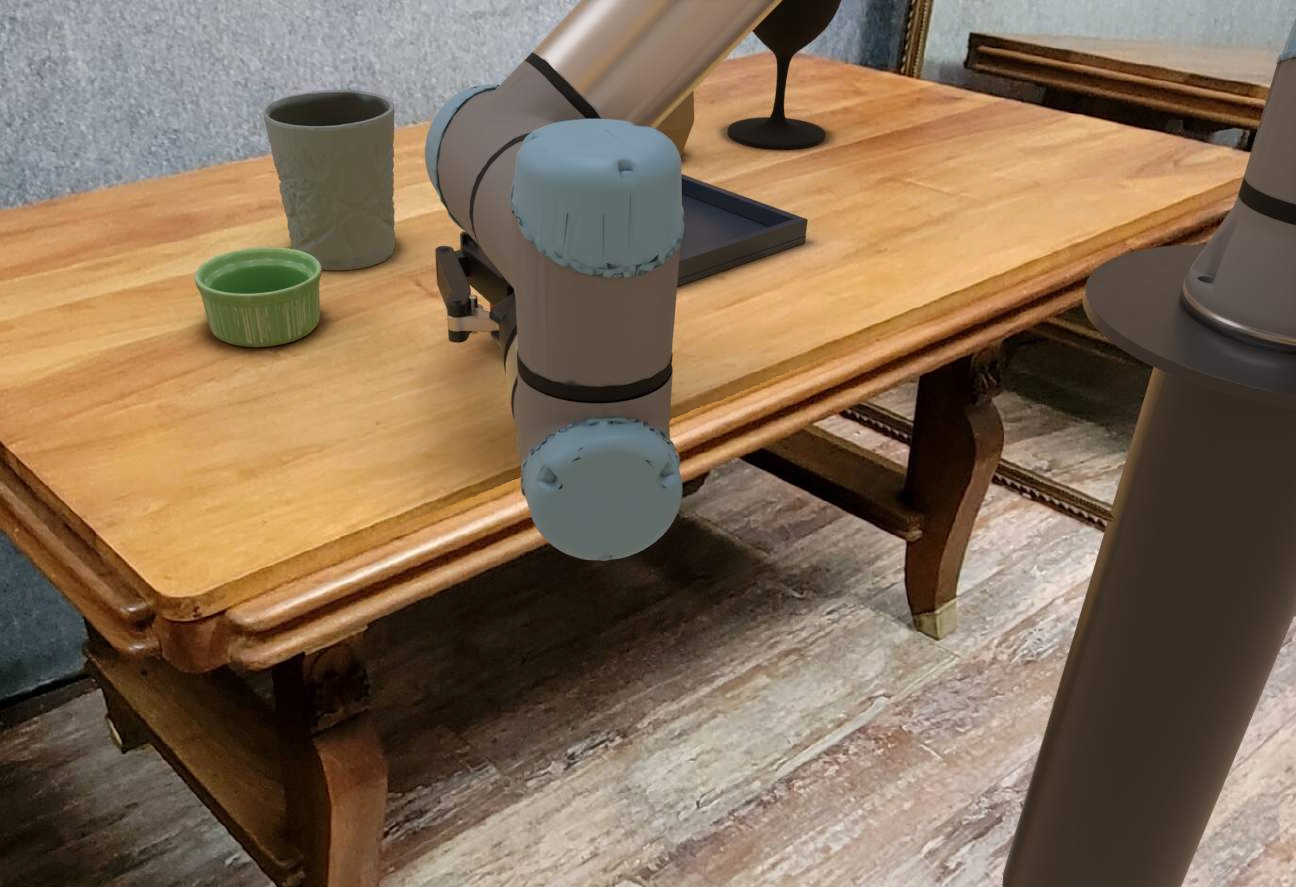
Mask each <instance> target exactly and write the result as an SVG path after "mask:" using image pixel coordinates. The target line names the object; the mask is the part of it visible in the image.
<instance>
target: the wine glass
mask: <svg viewBox="0 0 1296 887" xmlns="http://www.w3.org/2000/svg"><path fill="white" fill-rule="evenodd" d="M841 3H842V0H782V1H781V2H780V3H779V4H778V5H777V6H776V7H775V8H774V9H773V10H772V11H771V12H770V13H769V14H768V15H767V16H766V17H765V18H764V19H763V20H762V21H761V22H760V23H759V24H758V25H757V26H756V28H755V29H754V30H753V31H752V33H753V34H754V35H755V37H756V38H757V39H758V40H759V41H760V42H761V43H762V44H763V45H764V46H765V47H766V48H767V49H769V51H771V52H772V53H773V54H774V57H775V59H776V84H775V94H774V102H773V107H772V110H771V113H770V116H762V117H751V118H745V119H740V120H737V121H734V122H732V123H731V124H729V126H728V127H727V131H726V134H727V136H728V137H729V138H730V139H731V140H733V141H735V142H737V143H739V144H742V145H745V146H749V147H754V148H759V149H770V150H797V149H798V150H799V149H806V148H810V147H814V146H817V145H820V144H821V143H823V142H824V141H825V139H826V135H827V134H826V131H825V129H824V128H823V127H821V126H819V125H817V124H815V123H813V122H809V121H807V120H801V119H796V118H790V117H786V114H785V113H786V112H785V99H786V98H785V96H786V87H787V80H788V73H789V68H790V65H791V62H792V59H793V58H794V55H796V54H797V53H798V52H800V51H801V50H802V49H804V48H805V47H807V46H808V45H810V44H811V43H812V42H813V41H815V40H816V39H817V38H818V37H820V35H822V33H823V32H824V31H825V30H826V29H827V28H828V27H829V25H830V24H831V23H832V21H833V19H834V18H835V16H836V14H837V12H838V10H839V8H840V5H841Z"/></svg>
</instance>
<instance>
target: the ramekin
mask: <svg viewBox="0 0 1296 887" xmlns="http://www.w3.org/2000/svg"><path fill="white" fill-rule="evenodd" d="M321 276H322V269H321V265H320V263H319V261H318V260H317V259H316V258H314V257H313V256H311V255H309V254H307V253H305V252H302V251H298V250H294V249H292V248H287V247H274V246H263V247H261V246H260V247H249V248H243V249H237V250H233V251H230V252H229V251H228V252H225V253H222V254H219V255H216V256H214V257H212V258H210V259H207V260H206V261H205V262H203V263H202V264H201V265H200V266H198V268H197V269H196V270H195V273H194V276H193V278H194V283H195V286H196V289H197V290H198V292H199V293H200V297H201V300H202V304H203V308H204V313H205V315H206V319H207V324H208V326H209V329H210V331H211V333H212V334H213V336H214V337H216V338H217V339H219V340H220V341H222V342H224V343H227V344H230V345H234V346H238V347H245V348H246V347H247V348H265V347H266V348H267V347H274V346H281V345H284V344H289V343H292V342H295V341H297V340H300V339H302V338H304V337H306V336H307V335H309V334H310V333H311V332H312V331H314V330H315V329H316V328H317V326H318V325H319V322H320V319H321V318H320V317H321V303H320V299H321V298H320V280H321Z"/></svg>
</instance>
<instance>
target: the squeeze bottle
mask: <svg viewBox="0 0 1296 887" xmlns="http://www.w3.org/2000/svg"><path fill="white" fill-rule="evenodd" d="M694 91H695V89H694V90H693V91H692V92H691V93H690V94H689V95H688V96H687V97H686V98H685V99H684V100H683V101H682V102H681V104H680V105H679V106H678V107H677V108H676V109H675V110H674V111H673V112H672V113H671V114H670V115H669V116H668V117H667V118H666V119H665V120H664V121H663V122H662V123H661V124H660V125H659V126H658V127H657V128H656V130H658V131H660V132H661V133H663V134H664V135H666V136H667V137H668V138H669V139H670V140H671V141H672V142H673V143H674V144H675V146H676V148H677V150H678V151H679V154H680V157H682V154H683V152H684V150H685V146H686V145H687V142H688V138H689V136H690V133H691V131H692V128H693V126H694V123H695V96H694V95H695V94H694V93H695V92H694Z"/></svg>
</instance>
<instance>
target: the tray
mask: <svg viewBox="0 0 1296 887" xmlns="http://www.w3.org/2000/svg"><path fill="white" fill-rule="evenodd" d="M681 180H682V206H683V210H684V220H683V221H684V223H685V226H684V232H683V239H682V241H681V246H680V258H679V271H678V283H677V287H679V286H682V285H686V284H689V283H691V282H695V281H698V280H701V279H702V278H706V277H709V276H712V275H715V274H718V273H721V272H724V271H727V270H730V269H732V268H735V267H738V266H741V265H744V264H747V263H749V262H753V261H755V260H759V259H762V258H765V257H768V256H769V255H770V256H771V255H773V254H777V253H779V252H782V251H784V250H789V249H791V248H793V247H794V248H795V247H796V246H799V245H802V244H805V243H806V239H807V237H806V236H807V230H808V229H807V228H808V220H809V219H808V218H805V217H802V216H799V215H797V214H795V213H791V212H789V211H786V210H783V209H780V208H777V207H775V206H772V205H769V204H767V203H763V202H761V201H758V200H755V199H752V198H750V197H747V196H744V195H741V194H739V193H736V192H733V191H730V190H727V189H725V188H723V187H719V186H718V185H717V186H716V185H714V184H711V183H709V182H705V181H702V180H700V179H697V178H694V177H692V176H689V175H687V174H683V173H682V175H681Z"/></svg>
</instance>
